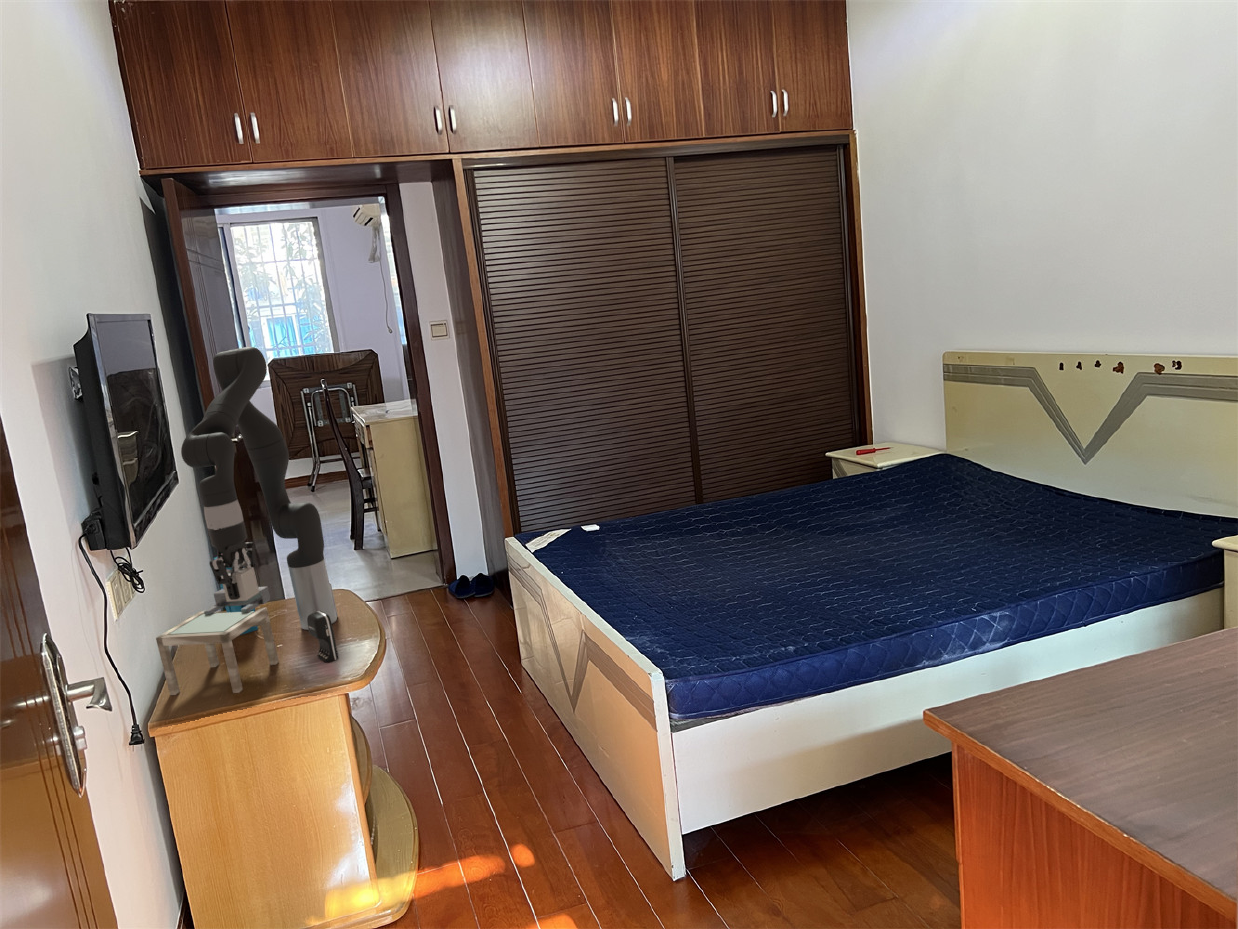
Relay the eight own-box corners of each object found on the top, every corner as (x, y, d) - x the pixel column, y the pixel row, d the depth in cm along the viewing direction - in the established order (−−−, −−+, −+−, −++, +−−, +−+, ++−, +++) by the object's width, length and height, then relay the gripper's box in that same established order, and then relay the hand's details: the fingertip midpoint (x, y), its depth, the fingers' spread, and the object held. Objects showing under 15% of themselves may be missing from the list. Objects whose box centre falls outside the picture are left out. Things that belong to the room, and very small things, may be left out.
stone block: (239, 593, 207) (233, 568, 206) (259, 592, 206) (253, 567, 205) (226, 601, 202) (220, 576, 201) (246, 600, 201) (240, 575, 200)
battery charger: (313, 658, 217) (303, 613, 215) (328, 652, 220) (319, 608, 217) (324, 665, 212) (314, 619, 210) (339, 659, 214) (330, 614, 212)
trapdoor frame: (214, 664, 222) (201, 611, 219) (278, 662, 218) (266, 607, 215) (170, 695, 207) (155, 638, 204) (239, 692, 203) (225, 634, 200)
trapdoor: (223, 606, 224) (219, 589, 224) (273, 603, 221) (269, 586, 220) (170, 638, 206) (165, 620, 205) (224, 635, 203) (219, 617, 202)
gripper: (229, 514, 208) (245, 584, 212) (190, 533, 194) (208, 607, 198) (258, 511, 207) (274, 582, 210) (220, 530, 193) (238, 605, 196)
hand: (242, 594), depth 204 cm, fingers closed on stone block, 5 cm apart
